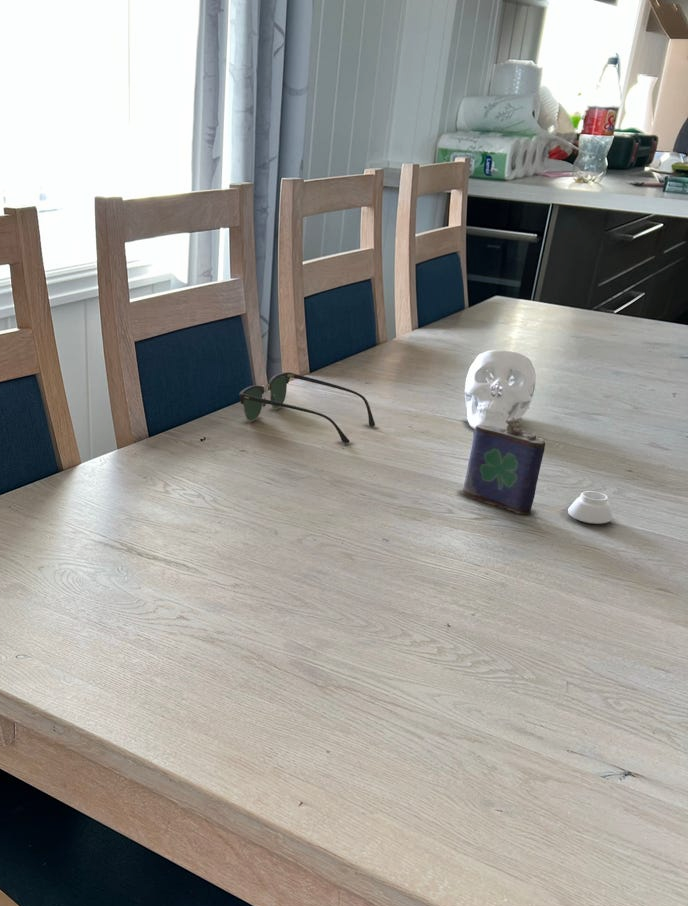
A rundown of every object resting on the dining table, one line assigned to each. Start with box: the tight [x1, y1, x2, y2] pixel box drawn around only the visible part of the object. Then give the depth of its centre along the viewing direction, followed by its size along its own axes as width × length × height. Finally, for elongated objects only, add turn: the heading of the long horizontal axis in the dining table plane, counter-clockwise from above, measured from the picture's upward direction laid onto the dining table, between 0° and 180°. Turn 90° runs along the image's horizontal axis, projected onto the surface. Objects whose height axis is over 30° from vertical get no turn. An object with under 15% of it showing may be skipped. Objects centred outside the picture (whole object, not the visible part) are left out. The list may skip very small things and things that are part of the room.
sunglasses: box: [238, 371, 376, 444], centre depth 145 cm, size 16×17×5 cm
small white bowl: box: [567, 490, 613, 525], centre depth 118 cm, size 5×3×5 cm
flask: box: [462, 417, 546, 515], centre depth 119 cm, size 9×3×11 cm, turn 46°
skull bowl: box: [464, 349, 537, 430], centre depth 151 cm, size 10×14×12 cm
